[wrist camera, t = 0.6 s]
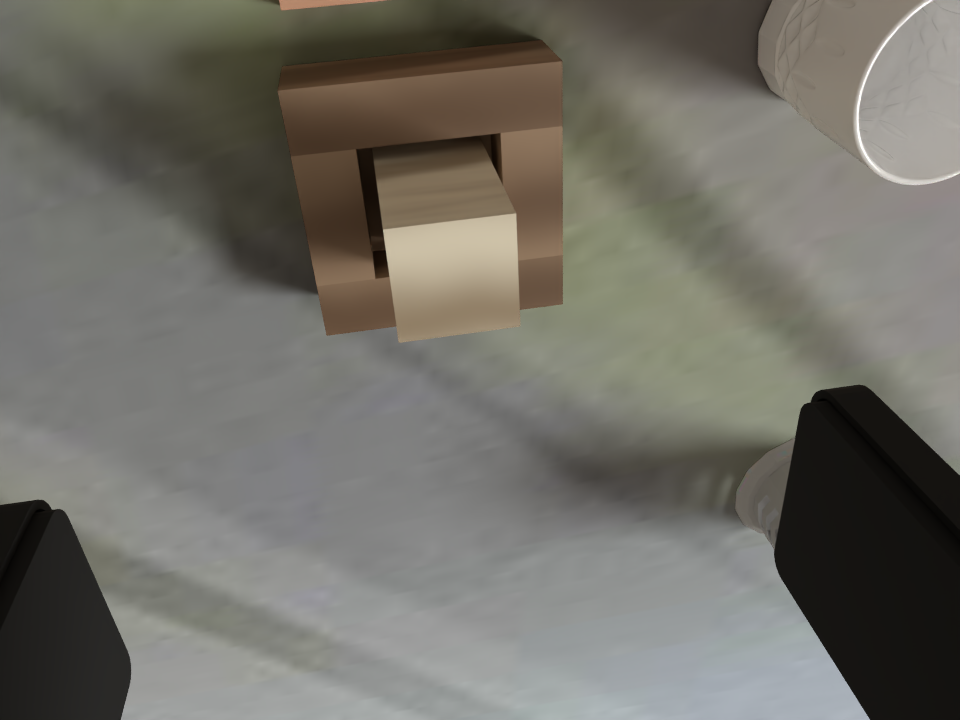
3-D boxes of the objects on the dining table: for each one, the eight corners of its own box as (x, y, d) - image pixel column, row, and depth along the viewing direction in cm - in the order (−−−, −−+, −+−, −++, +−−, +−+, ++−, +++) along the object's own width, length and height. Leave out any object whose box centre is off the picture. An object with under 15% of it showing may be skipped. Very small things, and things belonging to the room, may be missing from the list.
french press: (829, 408, 53) (1140, 773, 33) (896, 492, 59) (1196, 845, 39) (709, 492, 56) (927, 876, 36) (785, 563, 62) (1010, 929, 42)
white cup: (802, 143, 42) (916, 221, 34) (712, 45, 39) (815, 105, 30) (927, 21, 40) (1082, 73, 31) (842, -97, 36) (994, -74, 28)
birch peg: (371, 140, 38) (383, 229, 29) (475, 128, 38) (516, 213, 30) (384, 237, 40) (398, 342, 32) (481, 224, 41) (520, 326, 33)
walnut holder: (282, 66, 36) (277, 90, 33) (541, 39, 37) (562, 61, 34) (326, 296, 43) (326, 335, 40) (545, 268, 44) (562, 304, 41)
